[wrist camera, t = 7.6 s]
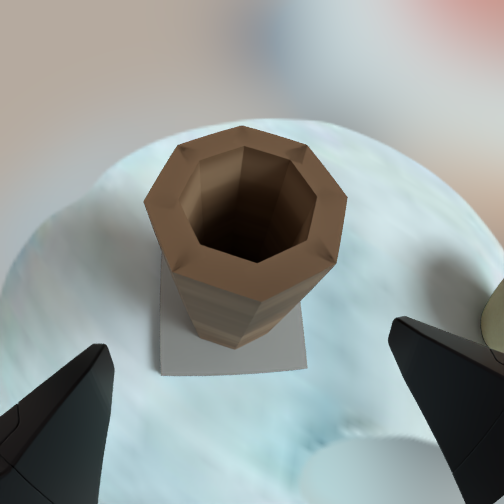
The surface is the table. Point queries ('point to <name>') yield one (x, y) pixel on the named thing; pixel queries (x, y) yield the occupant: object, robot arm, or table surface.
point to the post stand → (217, 356)
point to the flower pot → (494, 320)
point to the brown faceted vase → (245, 229)
